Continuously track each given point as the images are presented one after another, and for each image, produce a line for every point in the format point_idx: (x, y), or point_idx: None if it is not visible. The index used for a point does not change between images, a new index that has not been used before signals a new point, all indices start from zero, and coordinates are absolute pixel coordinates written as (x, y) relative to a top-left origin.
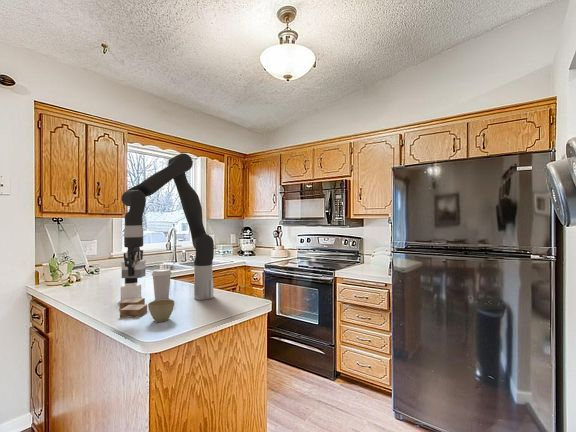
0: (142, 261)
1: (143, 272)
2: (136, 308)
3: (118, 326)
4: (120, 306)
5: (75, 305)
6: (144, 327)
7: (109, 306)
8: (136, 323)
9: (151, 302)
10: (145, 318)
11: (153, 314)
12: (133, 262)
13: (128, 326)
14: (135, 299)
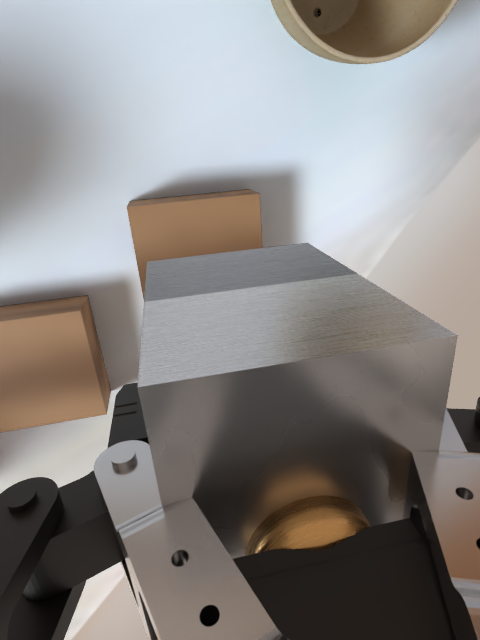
0: (336, 346)
1: (227, 268)
2: (233, 228)
3: (401, 214)
4: (107, 396)
5: (77, 613)
6: (441, 47)
7: (65, 474)
8: (367, 138)
9: (344, 53)
10: (281, 129)
11: (409, 2)
12: (452, 449)
13: (410, 159)
14: (6, 367)
